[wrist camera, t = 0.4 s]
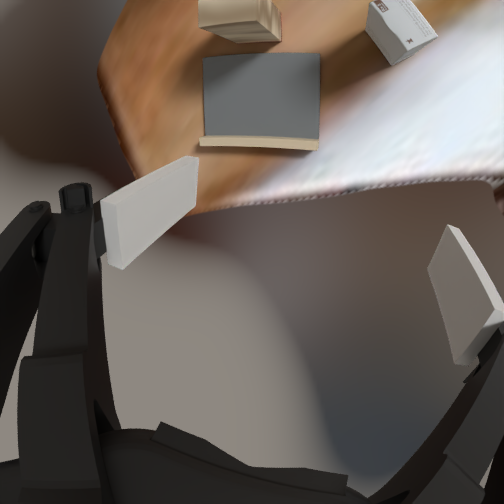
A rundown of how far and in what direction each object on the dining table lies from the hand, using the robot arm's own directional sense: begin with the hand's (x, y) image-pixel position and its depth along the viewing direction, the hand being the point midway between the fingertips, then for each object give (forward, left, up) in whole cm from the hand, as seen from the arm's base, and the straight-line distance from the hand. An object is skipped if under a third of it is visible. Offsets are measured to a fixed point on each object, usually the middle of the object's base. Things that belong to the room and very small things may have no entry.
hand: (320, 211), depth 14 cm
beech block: (-16, -10, -27) cm, 33 cm away
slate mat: (-5, -10, -27) cm, 29 cm away
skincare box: (-15, +7, -27) cm, 32 cm away
